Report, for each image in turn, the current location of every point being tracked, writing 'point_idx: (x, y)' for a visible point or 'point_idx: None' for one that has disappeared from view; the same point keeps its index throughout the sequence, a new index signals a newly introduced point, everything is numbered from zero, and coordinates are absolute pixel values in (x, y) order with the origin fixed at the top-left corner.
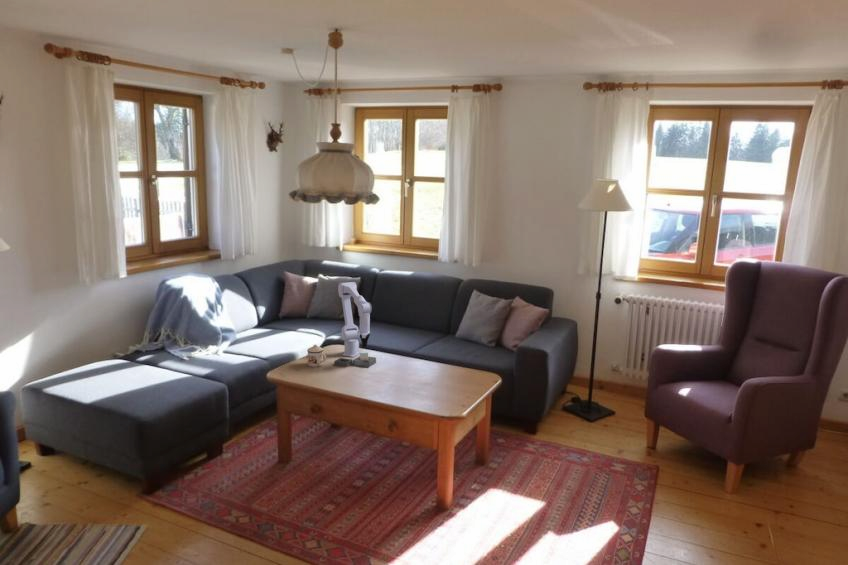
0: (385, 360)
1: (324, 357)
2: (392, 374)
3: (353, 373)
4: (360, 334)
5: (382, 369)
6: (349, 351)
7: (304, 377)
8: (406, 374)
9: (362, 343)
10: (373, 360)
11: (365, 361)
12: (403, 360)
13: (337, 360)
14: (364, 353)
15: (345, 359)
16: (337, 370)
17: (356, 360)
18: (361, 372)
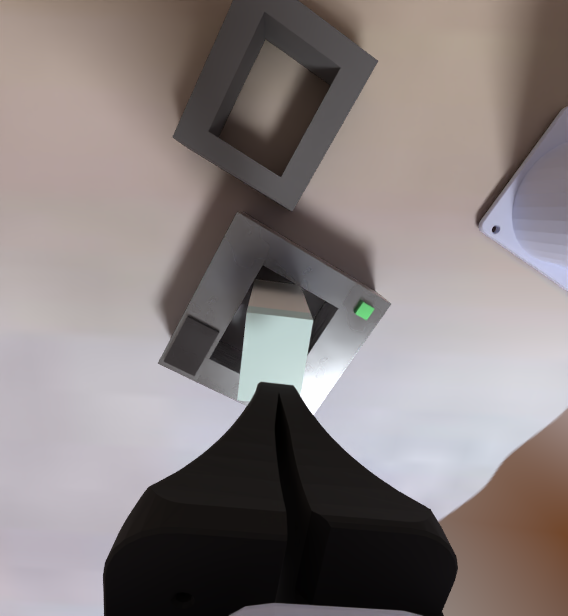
0: None
1: None
2: (24, 489)
3: (4, 205)
4: (401, 543)
5: (130, 436)
6: (552, 188)
7: None
8: (36, 560)
9: (245, 414)
10: None
11: (178, 338)
12: None
13: (270, 14)
14: (241, 360)
15: (308, 128)
16: (77, 32)
17: (225, 251)
18: (41, 279)
